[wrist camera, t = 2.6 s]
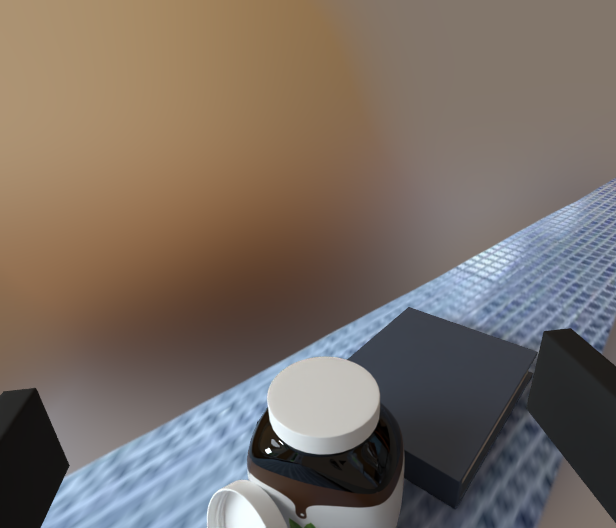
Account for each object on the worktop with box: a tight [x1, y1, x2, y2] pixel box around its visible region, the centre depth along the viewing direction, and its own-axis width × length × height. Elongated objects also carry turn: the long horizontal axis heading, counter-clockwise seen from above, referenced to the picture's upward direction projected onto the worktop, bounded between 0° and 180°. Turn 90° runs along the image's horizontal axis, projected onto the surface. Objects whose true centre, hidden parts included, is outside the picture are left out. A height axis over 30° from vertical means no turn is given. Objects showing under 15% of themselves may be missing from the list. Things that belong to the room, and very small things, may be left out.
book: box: [347, 307, 538, 509], centre depth 40 cm, size 18×14×3 cm
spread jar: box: [207, 357, 404, 528], centre depth 27 cm, size 12×11×12 cm
